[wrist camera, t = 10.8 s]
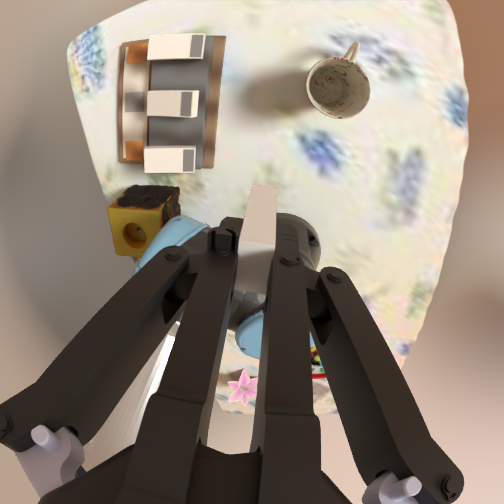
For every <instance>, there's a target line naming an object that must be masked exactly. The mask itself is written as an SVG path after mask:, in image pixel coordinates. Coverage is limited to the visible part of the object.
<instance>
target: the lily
mask: <svg viewBox="0 0 504 504" xmlns="http://www.w3.org/2000/svg"><path fill="white" fill-rule="evenodd" d="M257 382H258V377H256V378H253V379H250V377H249V375H248V373H247V371H246V370H245V369H243V371H242V374H241V376H240V379H239V381H229V382H228V384H229V385H230V386H231V387H232V388H233V389H234V392H233V393H232V395H231V396H230V398H229V400H228V403H231V402H235V401H238V400H240V399H241V401H242V403H243V405H244V406H246V405H247V403H248V400H249V398H256V395H257V388H256V387H255V385H256V383H257Z"/></svg>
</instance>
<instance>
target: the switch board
mask: <svg viewBox="0 0 504 504" xmlns="http://www.w3.org/2000/svg"><path fill="white" fill-rule="evenodd" d="M225 42H226V36H206V37H205V46H204V54H203V59H169V60H150V61H149V60H147V55H148V45H149V39H146V40H138V41H131V42H125V43H122V51H121V63H120V79H119V153H120V163H144V148H145V147H146V146H196V157H195V169H201V168H213V167H214V155H215V141H216V128H217V117H218V106H219V95H220V85H221V76H222V67H223V58H224V50H225ZM153 90H198V91H199V98H198V111H197V117H193V118H189V117H172V116H147V96H148V91H153Z"/></svg>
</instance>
